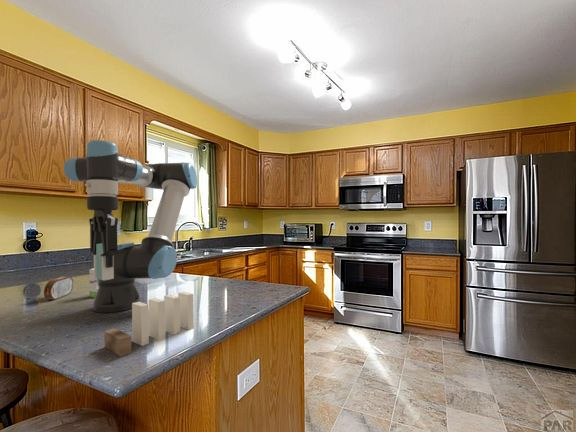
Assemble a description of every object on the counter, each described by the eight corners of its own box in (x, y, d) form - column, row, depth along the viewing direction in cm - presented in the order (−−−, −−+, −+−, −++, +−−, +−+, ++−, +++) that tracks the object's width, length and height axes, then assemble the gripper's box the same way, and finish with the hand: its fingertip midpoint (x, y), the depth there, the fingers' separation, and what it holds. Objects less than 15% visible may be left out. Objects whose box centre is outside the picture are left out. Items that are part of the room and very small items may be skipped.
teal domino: (103, 280, 83) (103, 244, 83) (96, 278, 86) (96, 243, 86) (110, 279, 84) (110, 243, 84) (103, 277, 87) (103, 243, 87)
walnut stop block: (104, 347, 75) (104, 331, 75) (114, 343, 77) (114, 328, 77) (120, 356, 70) (120, 339, 70) (131, 352, 72) (131, 336, 72)
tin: (67, 293, 134) (67, 274, 134) (74, 292, 134) (74, 274, 134) (42, 302, 119) (42, 281, 119) (51, 302, 119) (51, 281, 119)
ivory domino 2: (158, 340, 79) (158, 302, 79) (149, 335, 82) (148, 299, 82) (165, 337, 81) (164, 300, 81) (155, 333, 84) (155, 298, 84)
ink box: (95, 298, 124) (94, 269, 124) (88, 296, 126) (88, 269, 127) (115, 293, 131) (115, 266, 131) (109, 292, 134) (109, 266, 134)
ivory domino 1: (141, 345, 76) (141, 306, 76) (132, 341, 79) (132, 303, 79) (148, 343, 77) (148, 304, 77) (139, 339, 80) (138, 301, 80)
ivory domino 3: (174, 334, 83) (173, 298, 83) (164, 330, 86) (164, 295, 86) (180, 332, 84) (179, 297, 84) (170, 328, 87) (169, 294, 87)
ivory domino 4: (188, 329, 86) (188, 295, 86) (178, 326, 89) (178, 292, 89) (193, 327, 88) (193, 293, 88) (183, 324, 91) (183, 291, 91)
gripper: (76, 197, 88) (76, 276, 87) (101, 193, 77) (102, 284, 76) (104, 198, 93) (105, 272, 93) (131, 194, 82) (132, 279, 82)
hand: (103, 277), depth 85 cm, fingers closed on teal domino, 5 cm apart
